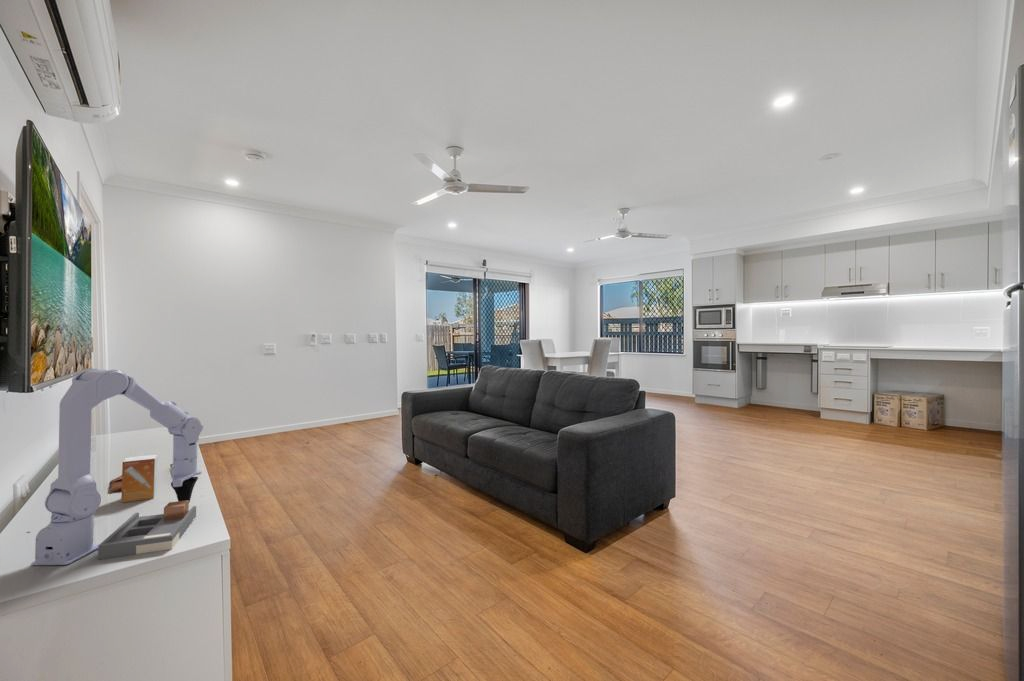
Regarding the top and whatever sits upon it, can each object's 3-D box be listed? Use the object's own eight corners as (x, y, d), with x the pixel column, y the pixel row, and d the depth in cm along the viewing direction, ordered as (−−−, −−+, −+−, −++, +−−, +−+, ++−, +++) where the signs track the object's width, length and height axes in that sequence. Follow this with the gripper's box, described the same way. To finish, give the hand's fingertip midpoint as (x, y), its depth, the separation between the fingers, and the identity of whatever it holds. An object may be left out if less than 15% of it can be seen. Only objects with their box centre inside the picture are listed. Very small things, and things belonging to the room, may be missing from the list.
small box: (120, 503, 135) (121, 461, 135) (124, 497, 140) (125, 457, 141) (154, 498, 140) (155, 458, 140) (157, 492, 145) (157, 453, 145)
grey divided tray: (172, 549, 106) (172, 535, 106) (97, 559, 100) (98, 545, 100) (196, 517, 125) (196, 506, 125) (135, 524, 120) (135, 512, 120)
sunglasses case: (108, 481, 156) (121, 463, 158) (130, 487, 160) (143, 470, 162) (107, 494, 143) (122, 475, 145) (132, 500, 147) (145, 481, 149)
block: (183, 518, 119) (183, 505, 119) (163, 520, 118) (163, 507, 118) (188, 512, 123) (188, 500, 123) (169, 514, 122) (169, 502, 122)
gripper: (194, 462, 122) (193, 511, 122) (207, 450, 135) (206, 494, 135) (163, 465, 119) (162, 514, 119) (180, 452, 133) (179, 497, 133)
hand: (184, 504), depth 127 cm, fingers closed
